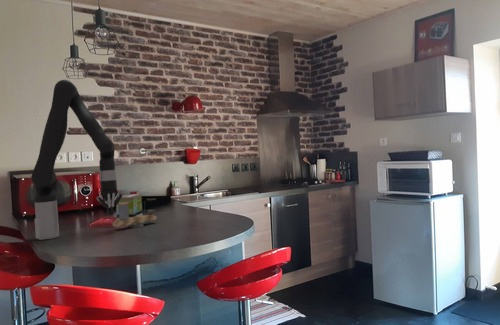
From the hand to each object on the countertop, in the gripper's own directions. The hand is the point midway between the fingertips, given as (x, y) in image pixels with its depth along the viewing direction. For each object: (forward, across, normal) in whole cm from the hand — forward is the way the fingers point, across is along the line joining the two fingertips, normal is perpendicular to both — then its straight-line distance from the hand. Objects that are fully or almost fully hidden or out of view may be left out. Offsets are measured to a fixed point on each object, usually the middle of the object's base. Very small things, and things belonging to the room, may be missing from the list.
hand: (110, 214), depth 191 cm
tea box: (+8, +20, +18) cm, 28 cm away
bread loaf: (+8, +13, 0) cm, 15 cm away
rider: (+4, +7, 0) cm, 8 cm away
